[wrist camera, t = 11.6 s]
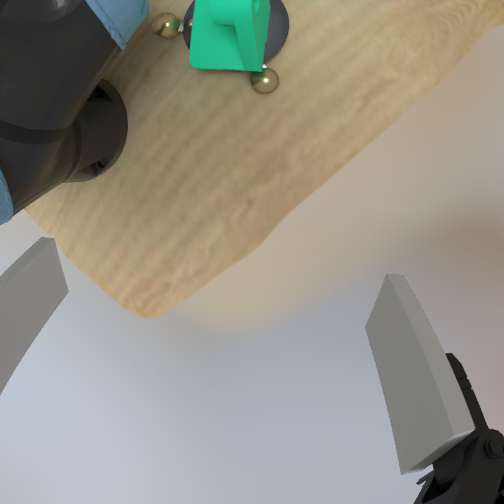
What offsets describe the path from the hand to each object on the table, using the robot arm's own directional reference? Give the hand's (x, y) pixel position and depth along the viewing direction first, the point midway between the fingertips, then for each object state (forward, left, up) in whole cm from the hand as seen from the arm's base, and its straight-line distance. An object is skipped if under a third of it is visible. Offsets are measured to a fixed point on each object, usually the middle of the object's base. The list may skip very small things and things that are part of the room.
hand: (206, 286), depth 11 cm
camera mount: (-3, +15, -26) cm, 30 cm away
